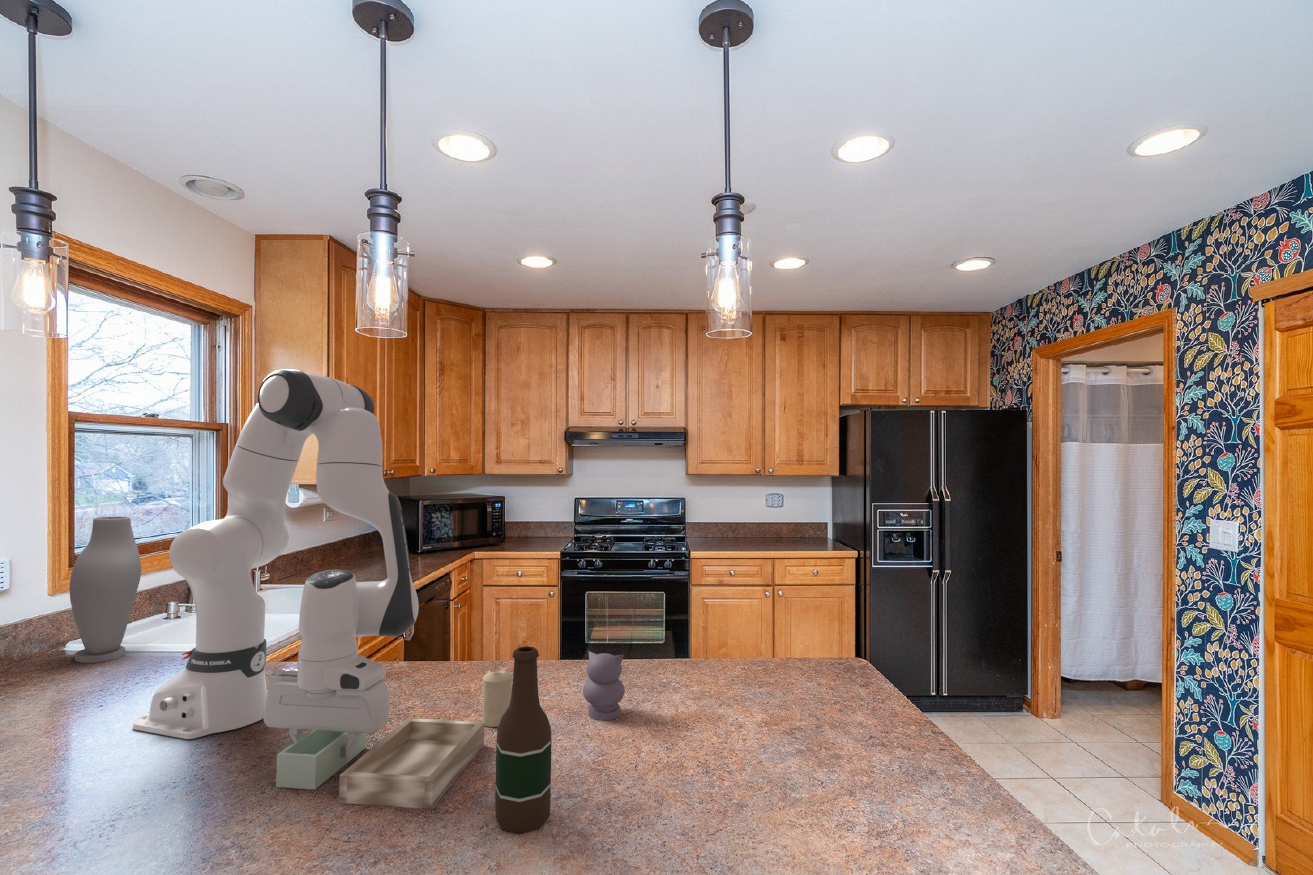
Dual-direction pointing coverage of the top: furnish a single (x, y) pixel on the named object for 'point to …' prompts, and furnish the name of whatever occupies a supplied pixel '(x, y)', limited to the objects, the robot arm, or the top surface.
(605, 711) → the cat figurine
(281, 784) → the green crate
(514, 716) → the beer bottle
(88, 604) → the vase
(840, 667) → the top surface
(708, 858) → the top surface
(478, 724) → the box
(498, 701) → the candle
